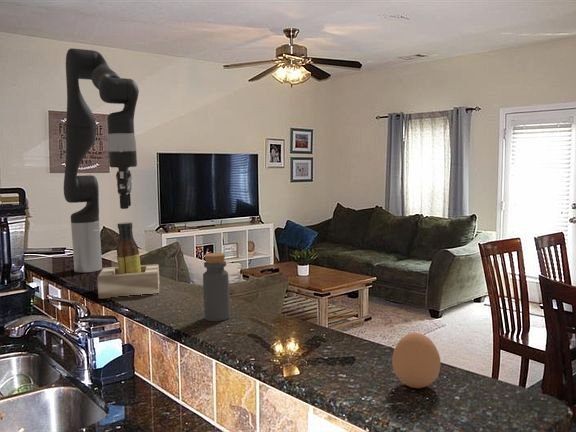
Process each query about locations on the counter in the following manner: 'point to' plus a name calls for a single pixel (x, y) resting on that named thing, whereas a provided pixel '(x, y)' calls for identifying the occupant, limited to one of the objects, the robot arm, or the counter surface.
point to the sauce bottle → (127, 250)
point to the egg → (416, 360)
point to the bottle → (216, 288)
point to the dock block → (128, 282)
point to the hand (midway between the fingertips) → (125, 207)
